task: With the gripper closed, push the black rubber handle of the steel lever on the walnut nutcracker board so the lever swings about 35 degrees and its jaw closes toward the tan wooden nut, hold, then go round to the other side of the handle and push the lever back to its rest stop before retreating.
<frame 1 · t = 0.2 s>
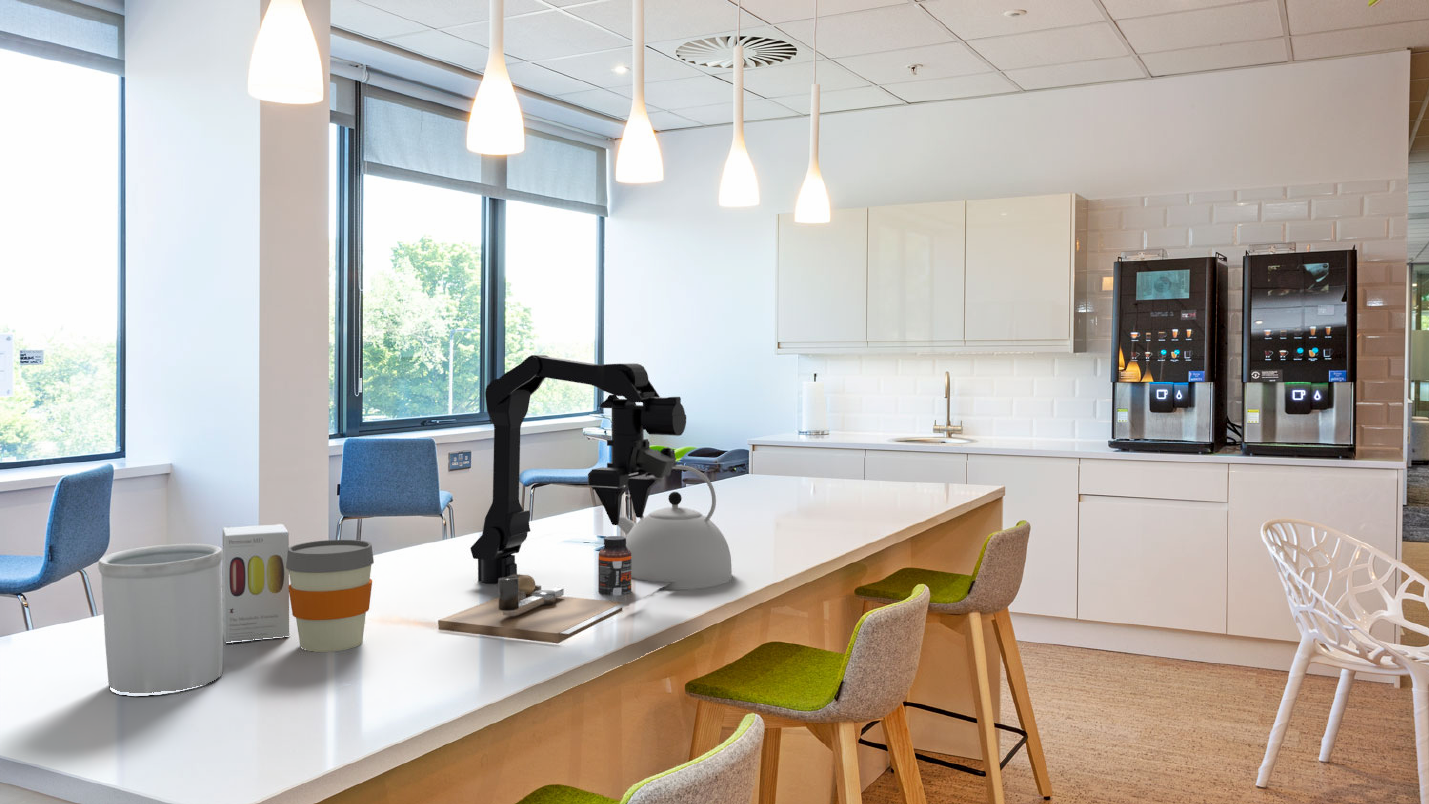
hand: (627, 521, 187), 14 cm above the counter, fingers open, 9 cm apart
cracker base: (533, 619, 175), on the counter
utensil holder: (164, 683, 142), on the counter
kettle: (669, 578, 210), on the counter
supplement box: (256, 635, 166), on the counter
reusable coffee cup: (331, 645, 160), on the counter
supplement bottle: (614, 600, 190), on the counter
nut: (525, 595, 186), point 1 cm above the counter, touching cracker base
lever: (532, 588, 176), point 5 cm above the counter, hinge at 0.0°
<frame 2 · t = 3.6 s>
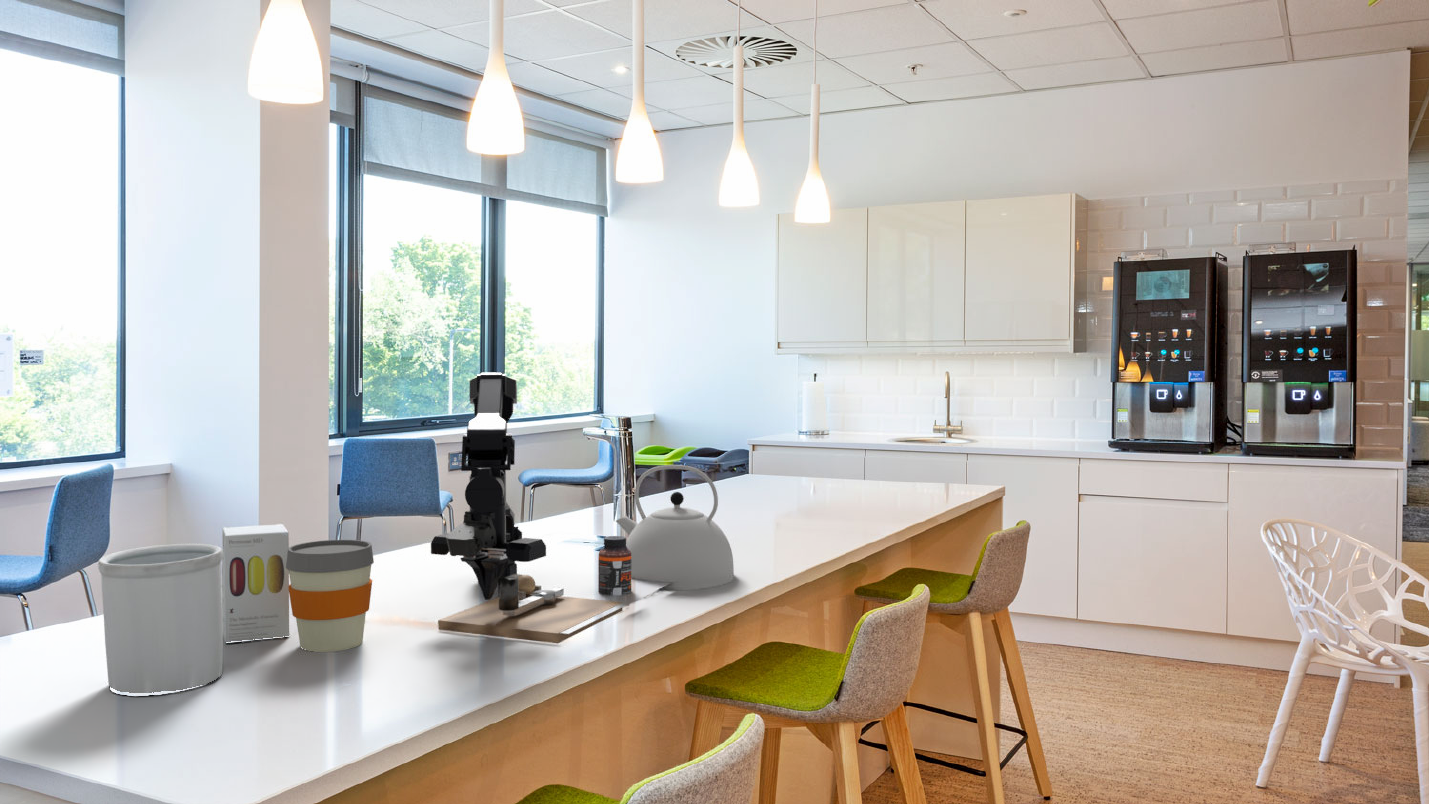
hand: (488, 599, 171), 4 cm above the counter, fingers closed
lever: (532, 588, 176), point 5 cm above the counter, hinge at 0.0°, touching gripper
everything else where it was.
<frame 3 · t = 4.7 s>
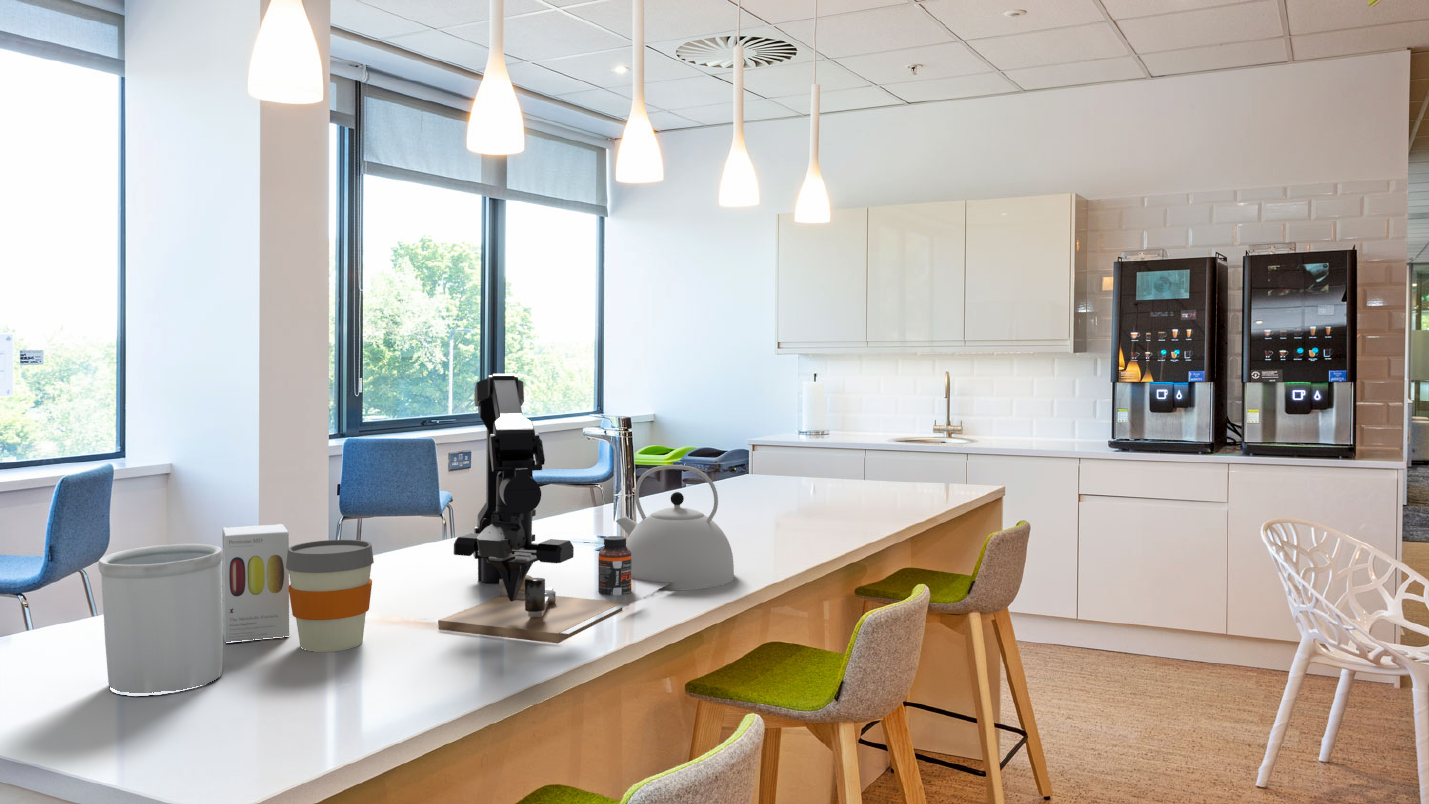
hand: (512, 600, 169), 5 cm above the counter, fingers closed
lever: (540, 589, 176), point 5 cm above the counter, hinge at 23.5°, touching gripper
everything else where it was.
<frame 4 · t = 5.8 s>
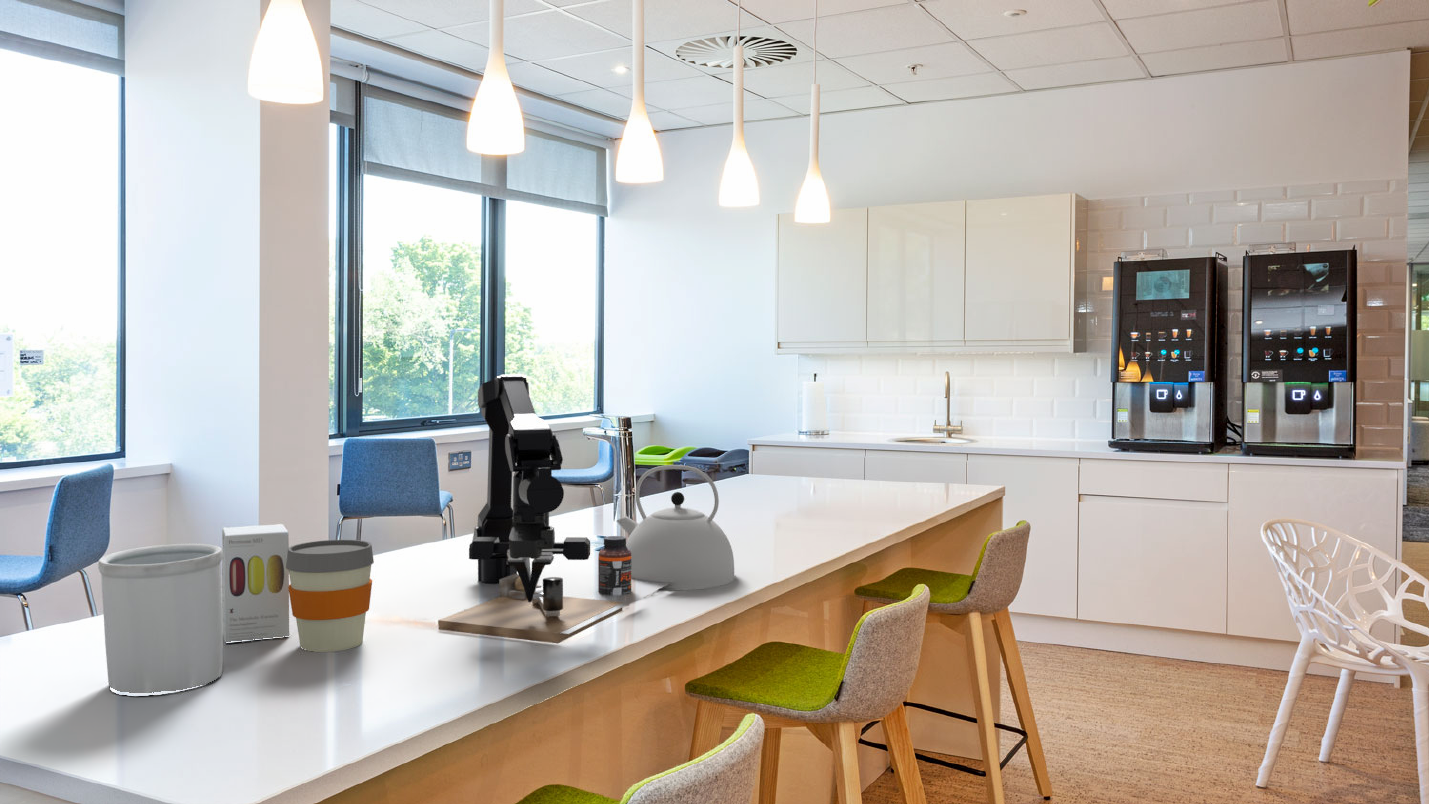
hand: (530, 601, 168), 5 cm above the counter, fingers closed
lever: (546, 588, 176), point 5 cm above the counter, hinge at 38.4°, touching gripper
everything else where it was.
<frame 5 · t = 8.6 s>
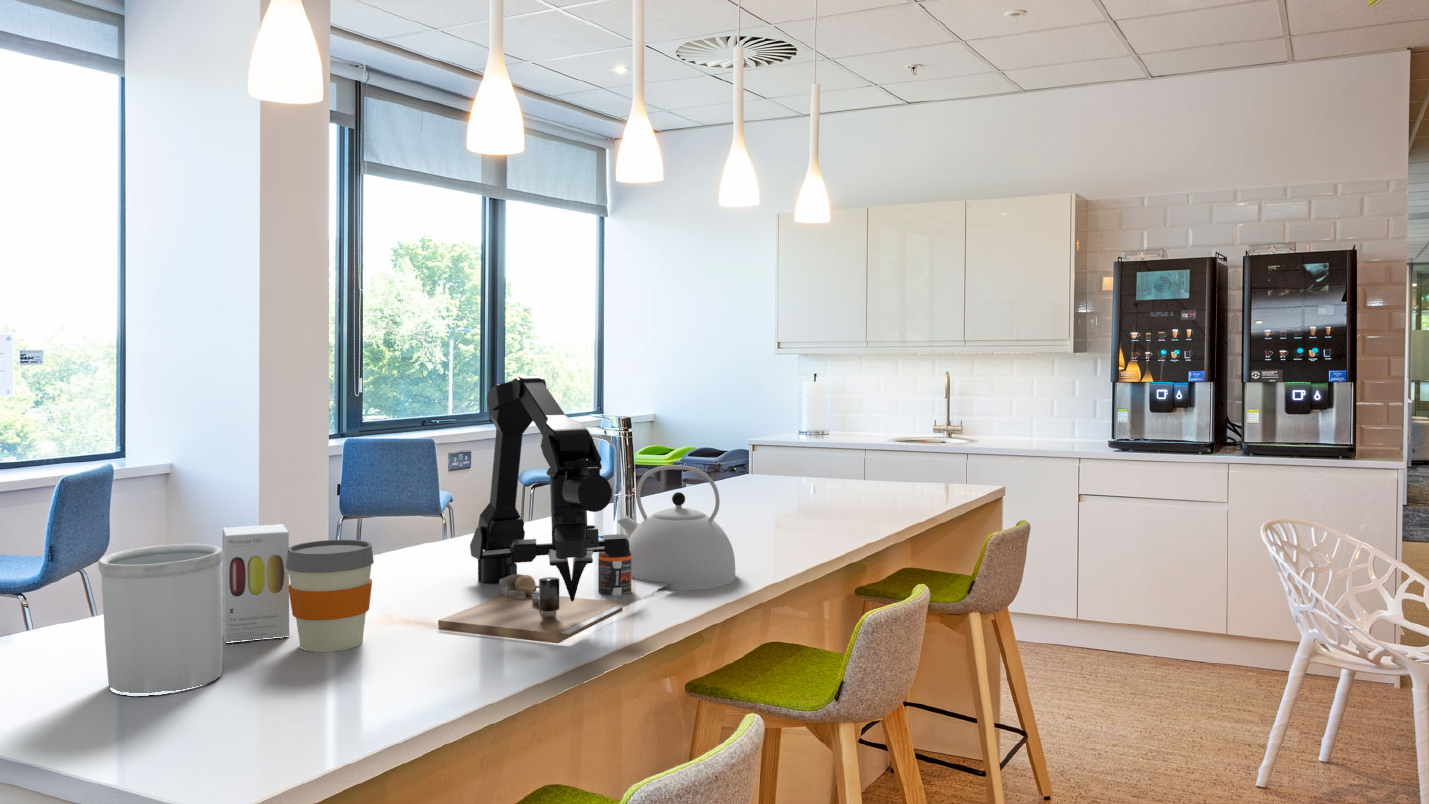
hand: (572, 600, 170), 4 cm above the counter, fingers closed
lever: (545, 588, 176), point 5 cm above the counter, hinge at 35.3°, touching gripper
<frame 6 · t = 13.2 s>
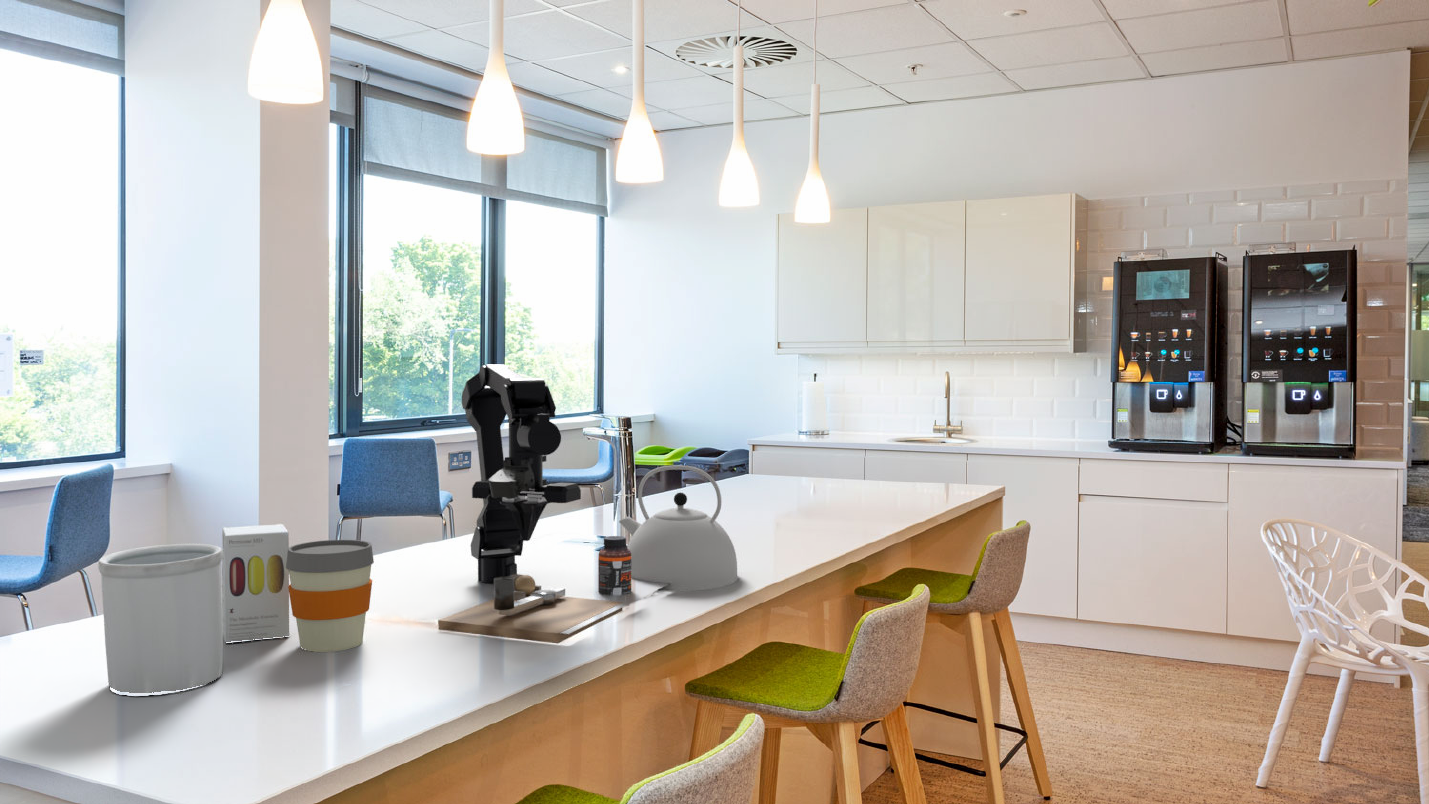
hand: (526, 540, 182), 12 cm above the counter, fingers closed
lever: (530, 588, 176), point 5 cm above the counter, hinge at -4.4°
at the end: lever at -4° (first picture: +0°); the gripper is holding nothing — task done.
